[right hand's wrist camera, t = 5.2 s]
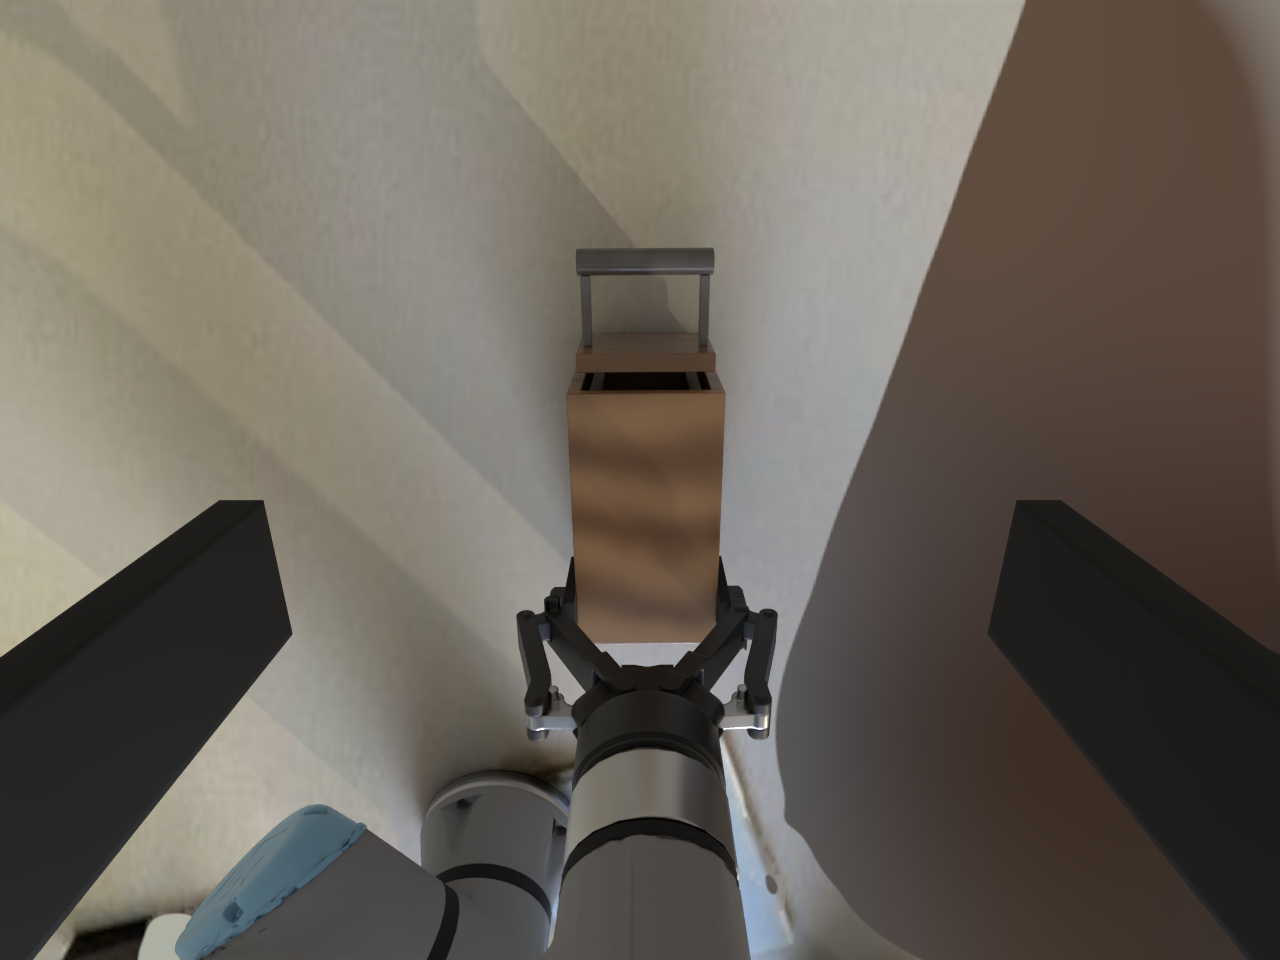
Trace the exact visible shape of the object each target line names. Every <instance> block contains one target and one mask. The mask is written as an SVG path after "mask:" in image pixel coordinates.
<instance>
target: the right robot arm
mask: <svg viewBox="0 0 1280 960" xmlns="http://www.w3.org/2000/svg"><path fill="white" fill-rule="evenodd" d="M291 635H292V629H291V625H290V620H289V616H288V611H287V607H286V602H285V597H284V593H283V588H282V584H281V579H280V574H279V570H278V565H277V561H276V556H275V551H274V547H273V542H272V538H271V533H270V528H269V524H268V519H267V515H266V510H265V506H264V501H263V500H219V501H218V502H216V503H215V504H213V505H212V506H211V507H209V508H208V509H207V510H205V511H204V512H202V513H201V514H200V515H198V516H197V517H195V518H194V519H193V520H191V521H190V522H188V523H187V524H186V525H184V526H183V527H181V528H180V529H179V530H177V531H176V532H174V533H173V534H172V535H170V536H169V537H168V538H166V539H165V540H163V541H162V542H161V543H159V544H158V545H156V546H155V547H154V548H152V549H151V550H149V551H148V552H147V553H145V554H144V555H142V556H141V557H140V558H138V559H137V560H135V561H134V562H133V563H131V564H130V565H128V566H127V567H126V568H124V569H123V570H122V571H120V572H119V573H117V574H116V575H115V576H113V577H112V578H110V579H109V580H108V581H106V582H105V583H103V584H102V585H101V586H99V587H98V588H96V589H95V590H94V591H92V592H91V593H89V594H88V595H87V596H85V597H84V598H83V599H81V600H80V601H78V602H77V603H76V604H74V605H73V606H71V607H70V608H69V609H67V610H66V611H64V612H63V613H62V614H60V615H59V616H57V617H56V618H55V619H53V620H52V621H50V622H49V623H48V624H46V625H45V626H43V627H42V628H41V629H39V630H38V631H37V632H35V633H34V634H32V635H31V636H30V637H28V638H27V639H25V640H24V641H23V642H21V643H20V644H18V645H17V646H16V647H14V648H13V649H11V650H10V651H9V652H7V653H6V654H4V655H3V656H2V657H0V960H33V959H34V958H35V957H36V955H37V954H38V953H39V951H40V950H41V949H42V948H43V946H44V945H45V944H46V943H47V941H48V940H49V939H50V938H51V936H52V935H53V934H54V933H55V931H56V930H57V929H58V928H59V926H60V925H61V924H62V923H63V921H64V920H65V919H66V918H67V916H68V915H69V914H70V913H71V911H72V910H73V909H74V908H75V906H76V905H77V904H78V903H79V901H80V900H81V899H82V898H83V896H84V895H85V894H86V893H87V891H88V890H89V889H90V888H91V886H92V885H93V884H94V883H95V881H96V880H97V879H98V877H99V876H100V875H101V874H102V872H103V871H104V870H105V869H106V867H107V866H108V865H109V864H110V862H111V861H112V860H113V859H114V857H115V856H116V855H117V854H118V852H119V851H120V850H121V849H122V847H123V846H124V845H125V844H126V842H127V841H128V840H129V839H130V837H131V836H132V835H133V834H134V832H135V831H136V830H137V829H138V827H139V826H140V825H141V824H142V822H143V821H144V820H145V819H146V817H147V816H148V815H149V814H150V812H151V811H152V810H153V809H154V807H155V806H156V805H157V804H158V802H159V801H160V800H161V798H162V797H163V796H164V795H165V793H166V792H167V791H168V790H169V788H170V787H171V786H172V785H173V783H174V782H175V781H176V780H177V778H178V777H179V776H180V775H181V773H182V772H183V771H184V770H185V768H186V767H187V766H188V765H189V763H190V762H191V761H192V760H193V758H194V757H195V756H196V755H197V753H198V752H199V751H200V750H201V748H202V747H203V746H204V745H205V743H206V742H207V741H208V740H209V738H210V737H211V736H212V735H213V733H214V732H215V731H216V730H217V728H218V727H219V726H220V725H221V723H222V722H223V721H224V719H225V718H226V717H227V716H228V714H229V713H230V712H231V711H232V709H233V708H234V707H235V706H236V704H237V703H238V702H239V701H240V699H241V698H242V697H243V696H244V694H245V693H246V692H247V691H248V689H249V688H250V687H251V686H252V684H253V683H254V682H255V681H256V679H257V678H258V677H259V676H260V674H261V673H262V672H263V671H264V669H265V668H266V667H267V666H268V664H269V663H270V662H271V661H272V659H273V658H274V657H275V656H276V654H277V653H278V652H279V651H280V649H281V648H282V647H283V645H284V644H285V643H286V642H287V640H288V639H289V638H290V637H291ZM988 635H989V637H990V638H991V639H992V640H993V642H994V643H995V644H996V645H997V647H998V648H999V649H1000V650H1001V652H1002V653H1003V654H1004V656H1005V657H1006V658H1007V659H1008V661H1009V662H1010V663H1011V664H1012V665H1013V667H1014V668H1015V669H1016V671H1017V672H1018V673H1019V674H1020V676H1021V677H1022V678H1023V679H1024V681H1025V682H1026V683H1027V684H1028V686H1029V687H1030V688H1031V689H1032V691H1033V692H1034V693H1035V694H1036V696H1037V697H1038V698H1039V699H1040V701H1041V702H1042V703H1043V704H1044V706H1045V707H1046V708H1047V709H1048V711H1049V712H1050V713H1051V714H1052V716H1053V717H1054V718H1055V719H1056V721H1057V722H1058V723H1059V725H1060V726H1061V727H1062V728H1063V730H1064V731H1065V732H1066V733H1067V735H1068V736H1069V737H1070V738H1071V740H1072V741H1073V742H1074V743H1075V745H1076V746H1077V747H1078V748H1079V750H1080V751H1081V752H1082V753H1083V755H1084V756H1085V757H1086V758H1087V760H1088V761H1089V762H1090V763H1091V765H1092V766H1093V767H1094V768H1095V770H1096V771H1097V772H1098V773H1099V775H1100V776H1101V777H1102V778H1103V780H1104V781H1105V782H1106V783H1107V785H1108V786H1109V787H1110V788H1111V790H1112V791H1113V792H1114V793H1115V795H1116V796H1117V797H1118V798H1119V800H1120V801H1121V802H1122V803H1123V805H1124V806H1125V807H1126V809H1127V810H1128V811H1129V812H1130V814H1131V815H1132V816H1133V817H1134V819H1135V820H1136V821H1137V822H1138V824H1139V825H1140V826H1141V827H1142V829H1143V830H1144V831H1145V832H1146V834H1147V835H1148V836H1149V837H1150V839H1151V840H1152V841H1153V842H1154V844H1155V845H1156V846H1157V847H1158V849H1159V850H1160V851H1161V852H1162V854H1163V855H1164V856H1165V857H1166V859H1167V860H1168V861H1169V862H1170V864H1171V865H1172V866H1173V867H1174V869H1175V870H1176V871H1177V872H1178V874H1179V875H1180V876H1181V877H1182V879H1183V880H1184V881H1185V883H1186V884H1187V885H1188V886H1189V888H1190V889H1191V890H1192V891H1193V893H1194V894H1195V895H1196V896H1197V898H1198V899H1199V900H1200V901H1201V903H1202V904H1203V905H1204V906H1205V908H1206V909H1207V910H1208V911H1209V913H1210V914H1211V915H1212V916H1213V918H1214V919H1215V920H1216V921H1217V923H1218V924H1219V925H1220V926H1221V928H1222V929H1223V930H1224V931H1225V933H1226V934H1227V935H1228V936H1229V938H1230V939H1231V940H1232V941H1233V943H1234V944H1235V945H1236V946H1237V948H1238V949H1239V950H1240V951H1241V953H1242V954H1243V955H1244V957H1245V958H1246V959H1247V960H1280V654H1278V653H1276V652H1274V651H1272V650H1270V649H1267V648H1266V647H1264V646H1263V645H1262V644H1260V643H1259V642H1257V641H1256V640H1255V639H1253V638H1252V637H1250V636H1249V635H1248V634H1246V633H1245V632H1243V631H1242V630H1241V629H1239V628H1238V627H1237V626H1235V625H1234V624H1232V623H1231V622H1230V621H1228V620H1227V619H1225V618H1224V617H1223V616H1221V615H1220V614H1218V613H1217V612H1216V611H1214V610H1213V609H1211V608H1210V607H1209V606H1207V605H1206V604H1204V603H1203V602H1202V601H1200V600H1199V599H1197V598H1196V597H1195V596H1193V595H1192V594H1190V593H1189V592H1188V591H1186V590H1185V589H1184V588H1182V587H1181V586H1179V585H1178V584H1177V583H1175V582H1174V581H1172V580H1171V579H1170V578H1168V577H1167V576H1165V575H1164V574H1163V573H1161V572H1160V571H1158V570H1157V569H1156V568H1154V567H1153V566H1151V565H1150V564H1149V563H1147V562H1146V561H1144V560H1143V559H1142V558H1140V557H1139V556H1138V555H1136V554H1135V553H1133V552H1132V551H1131V550H1129V549H1128V548H1126V547H1125V546H1124V545H1122V544H1121V543H1119V542H1118V541H1117V540H1115V539H1114V538H1112V537H1111V536H1110V535H1108V534H1107V533H1106V532H1104V531H1103V530H1101V529H1100V528H1099V527H1097V526H1096V525H1094V524H1093V523H1092V522H1090V521H1089V520H1087V519H1086V518H1085V517H1083V516H1082V515H1080V514H1079V513H1078V512H1076V511H1075V510H1073V509H1072V508H1071V507H1069V506H1068V505H1066V504H1065V503H1064V502H1062V501H1061V500H1017V501H1016V506H1015V510H1014V515H1013V519H1012V524H1011V528H1010V533H1009V538H1008V542H1007V547H1006V551H1005V556H1004V561H1003V565H1002V570H1001V574H1000V579H999V584H998V588H997V593H996V597H995V602H994V607H993V611H992V616H991V620H990V625H989V629H988Z"/></svg>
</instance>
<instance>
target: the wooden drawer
mask: <svg viewBox="0 0 1280 960" xmlns="http://www.w3.org/2000/svg"><path fill="white" fill-rule="evenodd" d="M576 271H577V275H578V276H581V277H580V279H581V306H582V333H583V339H582V341H581V344H580V346H579V349H578V351H577V353H576V372H577V373H594V376H593V380H592V384H591V388H590V391H622V390H701V387H700V383H699V380H698V377H697V374H696V372H715V358H716V354H715V352H714V350H713V348H712V346H711V344H710V342H709V339H708V323H709V289H710V275H712V274H713V272H714V248H610V249H577V250H576ZM590 275H700V289H699V331H698V333H618V334H592V312H591V281H590Z"/></svg>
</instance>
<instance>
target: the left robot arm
mask: <svg viewBox="0 0 1280 960" xmlns="http://www.w3.org/2000/svg"><path fill="white" fill-rule="evenodd" d="M544 609H545V611H544V612H543V613H541V614H536V615H535V614H534V612H532V611H529V610H524V611H521V612H519V613H518V614H517V616H516V617H517V629H518V641H519V649H520V654H521V658H522V663H523V668H524V672H525V677H526V681H527V686H528V690H527V693H526V696H525V699H524V703H525V716H526V727H527V737H528V738H529V739H530V740H531V741H535V742H536V741H542V740H544V739H545V738H546V737H547V736H548V734H549V730H571V731H573V734H574V735H575V737H576V738H577V748H576V757H575V765H574V774H573V782H572V797H571V801H570V803H569V802H568V801H567V800H566V798H565V797H564V796H563V795H562V794H560V793H559V792H558V791H557V790H555V789H554V788H553V787H551V786H550V785H548V784H546V783H544V782H542V781H540V780H538V779H536V778H533V777H530V776H527V775H524V774H519V773H514V772H506V771H488V772H480V773H475V774H471V775H468V776H465V777H462V778H460V779H458V780H456V781H454V782H452V783H450V784H449V785H447V786H446V787H445V788H444V789H442V790H441V791H440V792H439V793H438V794H437V795H436V797H435V798H434V799H433V801H432V803H431V804H430V806H429V809H428V811H427V814H426V817H425V820H424V823H423V826H422V830H421V866H419V865H418V864H416V863H415V862H414V861H412V860H411V859H409V858H408V857H406V856H405V855H404V854H402V853H401V852H399V851H398V850H396V849H395V848H394V847H392V846H391V845H389V844H388V843H386V842H385V841H384V840H382V839H381V838H379V837H378V836H376V835H375V834H374V833H372V832H371V831H369V830H368V829H366V828H367V826H366V825H365V824H363V823H356V822H354V821H353V820H351V819H349V818H348V817H346V816H344V815H343V814H341V813H339V812H338V811H336V810H334V809H333V808H331V807H329V806H326V805H322V804H315V805H310V806H306V807H304V808H302V809H300V810H298V811H296V812H294V813H293V814H291V815H290V816H288V817H287V818H286V819H284V820H283V821H282V822H281V823H279V824H278V825H277V826H276V827H275V828H273V829H272V830H271V831H270V832H269V833H268V834H267V835H266V836H265V837H263V838H262V839H261V840H260V841H259V842H258V843H257V844H256V845H255V846H254V847H253V848H252V849H251V850H250V851H249V852H248V853H247V854H246V855H245V856H244V857H243V858H242V859H241V860H240V861H239V862H238V863H237V864H236V865H235V866H234V868H233V869H232V870H231V871H230V872H229V873H228V874H227V875H226V876H225V877H224V878H223V880H222V881H221V882H220V883H219V884H218V885H217V886H216V888H215V889H214V890H213V891H212V892H211V893H210V895H209V896H208V897H207V898H206V899H205V901H204V902H203V903H202V904H201V906H200V907H199V908H198V909H197V911H196V912H195V913H194V915H193V916H192V917H191V919H190V920H189V922H188V924H187V925H186V928H185V930H184V931H183V932H182V934H181V935H180V936H179V938H178V940H177V942H176V945H175V952H176V954H177V955H178V957H179V958H180V960H751V958H750V952H749V945H748V939H747V932H746V925H745V919H744V912H743V906H742V899H741V892H740V889H739V883H738V881H739V872H738V865H737V858H736V851H735V844H734V837H733V831H732V824H731V817H730V810H729V803H728V797H727V795H726V783H725V776H724V769H723V762H722V755H721V748H720V741H719V738H720V737H721V735H722V734H723V731H724V729H742V728H747V732H748V734H749V736H750V737H752V738H753V739H756V740H764V739H766V738H768V736H769V729H770V718H771V704H772V697H771V694H770V692H769V689H768V686H767V685H768V680H769V675H770V670H771V665H772V660H773V655H774V649H775V643H776V630H777V617H778V614H777V612H776V611H774V610H772V609H762V610H761V611H760V612H759V613H755V612H752V611H750V610H749V607H748V606H746V602H745V598H744V594H743V590H742V589H741V588H740V587H739V586H727V581H726V577H725V572H724V568H723V563H722V559H721V556H719V569H718V590H717V615H716V625H715V627H714V628H713V629H712V630H711V631H710V633H709V634H708V635H707V636H706V637H705V639H704V640H703V641H702V642H701V643H700V644H699V646H698V647H697V648H696V649H695V650H694V652H691V651H688V652H687V653H686V654H685V655H684V657H683V658H682V659H681V660H680V661H679V662H678V664H677V665H676V666H675V667H673V665H656V666H650V667H644V666H638V665H622V667H620V666H619V665H618V664H617V663H616V662H615V660H614V659H613V658H612V657H611V656H610V655H609V654H608V653H607V652H606V651H605V652H601V651H600V650H599V649H598V648H597V647H596V646H595V644H594V643H593V642H592V641H591V640H590V639H589V638H588V636H587V635H586V634H585V633H584V632H583V631H582V630H581V628H580V627H579V626H578V625H577V605H576V585H575V564H574V557H571V562H570V567H569V573H568V578H567V583H566V587H554V588H553V589H552V590H551V593H550V596H548V597H546V598H545V599H544ZM747 639H749V640H752V644H751V648H750V652H749V656H748V660H747V664H746V668H745V674H744V684H740V685H739V686H738V688H737V692H735V693H733V695H732V699H731V701H730V702H729V703H727V704H722V702H721V701H720V700H719V699H718V698H717V697H716V696H714V695H713V694H712V693H710V692H709V691H710V690H711V688H712V687H713V686H714V684H715V683H716V682H717V680H718V679H719V678H720V676H721V675H722V674H723V672H724V671H725V670H726V668H727V667H728V666H729V664H730V663H731V662H732V660H733V659H734V657H735V656H736V655H737V653H738V652H739V651H740V649H742V648H745V650H746V649H747ZM542 641H547V642H548V644H549V645H550V646H551V648H552V649H553V650H554V651H555V653H556V654H557V655H558V657H559V658H560V659H561V661H562V662H563V663H564V664H565V666H566V667H567V668H568V670H569V671H570V672H571V673H572V675H573V676H574V677H575V679H576V680H577V681H578V683H579V684H580V685H581V686H582V688H583V689H584V690H585V692H586V693H585V694H583V695H582V696H581V697H580V698H578V699H577V700H576V701H575V703H574V704H573V705H569V704H567V703H566V702H565V701H564V696H563V695H562V694H561V693H558V687H557V686H554V685H553V686H552V683H551V673H550V668H549V665H548V661H547V657H546V654H545V650H544V646H543V643H542ZM558 898H559V903H558V911H557V919H556V926H555V932H554V939H553V941H552V943H551V945H550V947H549V948H548V942H549V933H550V923H551V915H552V911H553V909H554V907H555V905H556V903H557V900H558Z"/></svg>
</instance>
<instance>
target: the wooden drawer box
mask: <svg viewBox="0 0 1280 960" xmlns="http://www.w3.org/2000/svg"><path fill="white" fill-rule="evenodd" d="M696 374H697V377H698V380H699V383H700V387H701V390H622V391H590V388H591V384H592V380H593V376H594V373H577V372H576V370H575V373H574V376H573V378H572V381H571V384H570V386H569V389H568V392H567V415H568V436H569V458H570V479H571V500H572V521H573V543H574V564H575V585H576V605H577V625H578V626H579V627H580V628H581V630H582V631H583V632H584V633H585V634H586V635H587V636H588V638H589V639H590V640H591V641H592V642H593V643H594V644H693V643H701V642H702V641H703V640H704V639H705V637H706V636H707V635H708V634H709V633H710V631H711V630H712V629H713V628H714V627H715V625H716V615H717V590H718V569H719V543H720V518H721V493H722V468H723V442H724V417H725V392H724V389H723V387H722V385H721V382H720V380H719V378H718V375H717V373H716V371H715V372H696Z"/></svg>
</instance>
